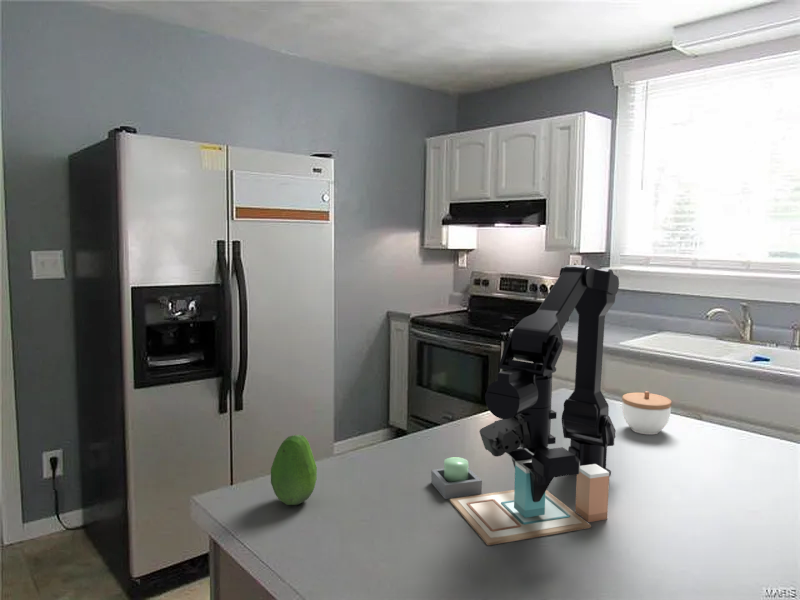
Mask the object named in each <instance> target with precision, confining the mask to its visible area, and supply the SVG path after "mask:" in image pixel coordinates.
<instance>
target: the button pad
mask: <svg viewBox="0 0 800 600" xmlns="http://www.w3.org/2000/svg"><path fill="white" fill-rule="evenodd" d="M430 472H431V476H430V477H431V480H430V483H431V484H432V485H433V486H434V488H435V489H436V490H437V491H438V493H439V494H440V495H441V496H442V497H443V498H444V500H447V499H448V500H450V499H453V498H460V497H467V496H474V495H481V494H483V493H482V488H483V486H482V485H483V480H482V479H481V478H480V477H479V476H478V475H477V474H476V473H475V472H474V471H473V470H471V469H470V467H468V480H466V481H459V482H449V481H447V480H445V479H444V467H442V468H435V469H431V471H430Z"/></svg>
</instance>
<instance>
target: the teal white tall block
mask: <svg viewBox="0 0 800 600" xmlns="http://www.w3.org/2000/svg"><path fill="white" fill-rule="evenodd" d="M529 462H532V459H530V460H522V461H515V467H514V489H513V490H514V508H515V509H516V510H517V511H518V512H519V513H520V514H521V515H522V516H523V517H524V518H527V517H533V516H539V515H545V493H544V495H543V496H542V498H541V500H540V501H539V502H533V499H532V492H531V479H530V471H529V470H528V469H527V468H526V467H525V466H524V465H523V463H529Z"/></svg>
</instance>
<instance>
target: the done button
mask: <svg viewBox="0 0 800 600" xmlns="http://www.w3.org/2000/svg"><path fill="white" fill-rule="evenodd" d="M443 461H444V462H443V468H444V479H445V480H447V481H449V482H448V483H451V482H459V481H466V480H468V468H469V460H467V459H466V458H465V457H464V458H463V457H458V456H457V457H453V456H452V457H451V456H450V457H448V458H445V459H444V460H443Z"/></svg>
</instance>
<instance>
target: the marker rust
mask: <svg viewBox="0 0 800 600" xmlns="http://www.w3.org/2000/svg"><path fill="white" fill-rule="evenodd" d="M575 484H576V485H575V486H576V487H575V508H574V509H575V511H574V512H575V513H576V514H577V515H579V516H580V517H581V518H582V519H584V520H585V521H586V522H587V523H593V522H598V521H603V520H608V509H609V508H608V507H609V492H610V491H609V490H610V489H609V487H610V486H609V485H610V474H609V472H608V471H607V470H605V469H603V468H602V467H600V466H598V465H597V464H591V465H583V466H580V473H579V474H576V483H575Z"/></svg>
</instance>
